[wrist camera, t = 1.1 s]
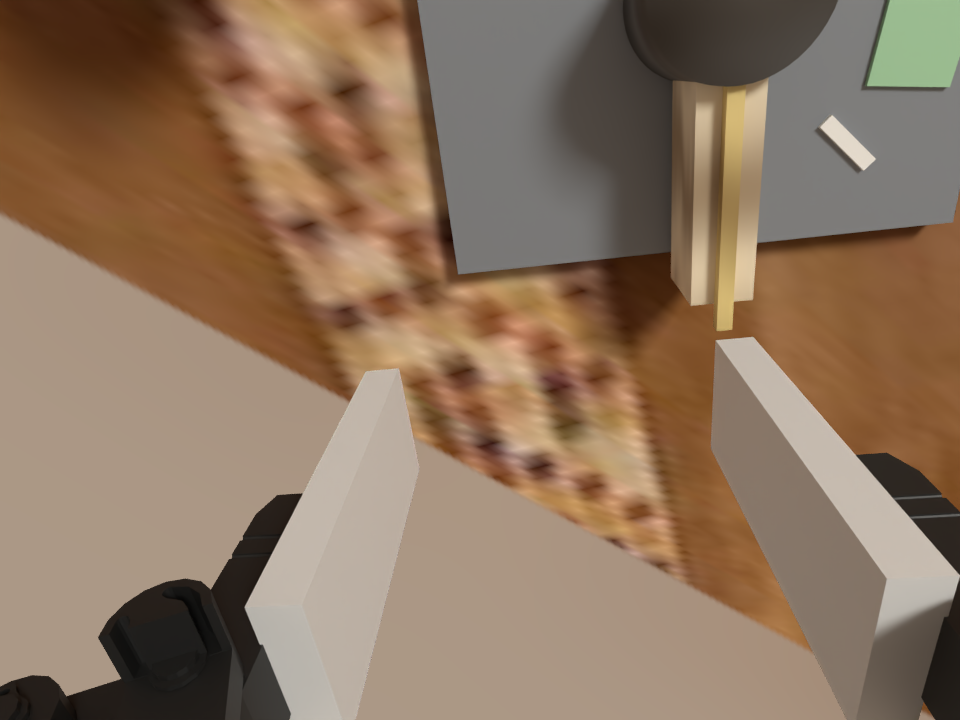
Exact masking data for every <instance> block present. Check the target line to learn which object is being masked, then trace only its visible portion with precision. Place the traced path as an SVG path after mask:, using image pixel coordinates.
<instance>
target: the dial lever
mask: <svg viewBox="0 0 960 720" xmlns="http://www.w3.org/2000/svg"><path fill="white" fill-rule="evenodd" d="M837 2H838V0H623V19H624V25H625V30H626V34H627V37H628V40H629V42H630V44H631V46H632V48H633V50H634V52H635V53H636V55H637V56H638V58H639V59H640V60H641V61H642V63H643V64H644V65H645V66H646V67H647V68H649V69H650V70H651V71H652V72H654V73H655V74H657V75H659V76H661V77H663V78H665V79H668V80H670V81H673V99H672V211H671V279H672V280H673V281H674V283H675V284H676V286H677V287H678V288H679V290H680V291H681V292H682V294H683V295H684V297H685V298H686V299H687V301H688V302H689V304H690V305H691V306H692V305H703V304H713V303H714V314H713V327H714V328H715V330H716V331H723V330H732V322H733V304H734V301H745V300H753V289H754V275H755V261H756V247H757V233H758V219H759V205H760V191H761V177H762V163H763V149H764V135H765V121H766V107H767V93H768V79H769V77H770V76H772V75H774V74H776V73H778V72H779V71H781V70H783V69H784V68H786V67H787V66H789V65H790V64H791V63H793V62H794V61H795V60H796V59H798V58H799V57H800V56H801V55H802V54H803V53H804V52H805V51H806V50H807V49H808V48H809V47H810V46H811V45H812V43H813V42H814V41H815V40H816V39H817V37H818V36H819V35H820V33H821V32H822V30H823V29H824V27H825V26H826V24H827V23H828V21H829V19H830V17H831V15H832V13H833V11H834V10H835V7H836V5H837Z"/></svg>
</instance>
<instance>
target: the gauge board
mask: <svg viewBox="0 0 960 720" xmlns="http://www.w3.org/2000/svg"><path fill="white" fill-rule="evenodd" d="M417 2H418V9H419V15H420V22H421V29H422V35H423V42H424V49H425V56H426V62H427V69H428V76H429V82H430V89H431V96H432V102H433V109H434V116H435V122H436V129H437V136H438V142H439V149H440V156H441V163H442V169H443V176H444V183H445V189H446V196H447V203H448V209H449V216H450V223H451V229H452V236H453V243H454V249H455V256H456V263H457V270H458V274H467V273H476V272H486V271H495V270H505V269H514V268H524V267H533V266H543V265H552V264H562V263H571V262H581V261H590V260H600V259H609V258H619V257H628V256H637V255H647V254H656V253H666V252H671V211H672V99H673V81H670V80H668V79H665V78H663V77H661V76H659V75H657V74H655V73H654V72H652V71H651V70H650V69H649V68H647V67H646V66H645V65H644V64H643V63H642V61H641V60H640V59H639V58H638V56H637V55H636V53H635V52H634V50H633V48H632V46H631V44H630V42H629V40H628V37H627V34H626V30H625V25H624V19H623V0H417ZM959 190H960V0H838V2H837V5H836V7H835V10H834V11H833V13H832V15H831V17H830V19H829V21H828V23H827V24H826V26H825V27H824V29H823V30H822V32H821V33H820V35H819V36H818V37H817V39H816V40H815V41H814V42H813V43H812V45H811V46H810V47H809V48H808V49H807V50H806V51H805V52H804V53H803V54H802V55H801V56H800V57H799V58H798V59H796V60H795V61H794V62H793V63H791V64H790V65H789V66H787V67H786V68H784V69H783V70H781V71H779V72H778V73H776V74H774V75H772V76H770V77H769V79H768V93H767V107H766V121H765V135H764V149H763V163H762V177H761V191H760V205H759V219H758V233H757V243H761V242H770V241H780V240H789V239H799V238H808V237H818V236H827V235H837V234H846V233H856V232H865V231H874V230H884V229H893V228H903V227H912V226H922V225H931V224H941V223H950V222H953V218H954V214H955V209H956V204H957V199H958V195H959Z"/></svg>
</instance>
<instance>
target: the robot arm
mask: <svg viewBox="0 0 960 720" xmlns="http://www.w3.org/2000/svg"><path fill="white" fill-rule="evenodd" d="M711 450H712V452H713V454H714V456H715V458H716V460H717V462H718V464H719V466H720V468H721V470H722V472H723V474H724V476H725V478H726V480H727V482H728V484H729V485H730V487H731V489H732V491H733V493H734V495H735V497H736V499H737V501H738V503H739V505H740V507H741V509H742V511H743V513H744V515H745V517H746V519H747V521H748V523H749V525H750V527H751V529H752V531H753V533H754V535H755V537H756V539H757V541H758V543H759V545H760V547H761V549H762V551H763V553H764V555H765V557H766V559H767V561H768V563H769V565H770V567H771V569H772V571H773V573H774V575H775V577H776V579H777V581H778V583H779V585H780V587H781V589H782V591H783V593H784V595H785V597H786V599H787V601H788V603H789V605H790V607H791V609H792V611H793V613H794V615H795V617H796V619H797V621H798V623H799V625H800V627H801V629H802V631H803V633H804V635H805V637H806V639H807V641H808V643H809V645H810V647H811V649H812V651H813V653H814V655H815V657H816V659H817V661H818V663H819V665H820V667H821V669H822V671H823V673H824V675H825V677H826V679H827V681H828V683H829V685H830V687H831V689H832V691H833V693H834V695H835V697H836V699H837V701H838V703H839V705H840V707H841V709H842V711H843V713H844V715H845V717H846V719H847V720H918V719H919V716H920V712H921V709H922V705H923V702H924V703H925V704H926V706H927V707H928V709H929V711H930V712H931V714H932V715H933V717H934V718H935V720H960V512H959V511H958V510H957V509H956V508H955V507H954V506H953V505H952V504H951V503H950V501H949V500H948V499H947V498H942V495H941V492H940V491H939V490H938V489H937V488H936V487H935V486H934V485H933V484H932V483H931V482H930V481H929V480H928V479H927V478H926V477H925V476H924V475H923V474H922V473H921V472H920V471H918V470H917V469H915V468H913V467H911V466H909V465H908V464H906V463H904V462H902V461H901V460H899V459H897V458H895V457H893V456H892V455H890V454H888V453H878V454H863V455H855V454H854V453H853V452H852V450H851V449H850V448H849V447H848V446H847V445H846V444H845V442H844V441H843V440H842V439H841V438H840V437H839V436H838V434H837V433H836V432H835V431H834V430H833V429H832V427H831V426H830V425H829V424H828V423H827V422H826V421H825V419H824V418H823V417H822V416H821V415H820V414H819V412H818V411H817V410H816V409H815V408H814V407H813V406H812V404H811V403H810V402H809V401H808V400H807V399H806V397H805V396H804V395H803V394H802V393H801V392H800V391H799V389H798V388H797V387H796V386H795V385H794V384H793V382H792V381H791V380H790V379H789V378H788V377H787V376H786V374H785V373H784V372H783V371H782V370H781V369H780V367H779V366H778V365H777V364H776V363H775V362H774V361H773V359H772V358H771V357H770V356H769V355H768V354H767V352H766V351H765V350H764V349H763V348H762V347H761V346H760V344H759V343H758V342H757V341H756V340H755V339H754V337H749V338H737V339H726V340H716V345H715V368H714V390H713V412H712V435H711ZM419 469H420V468H419V463H418V458H417V454H416V449H415V444H414V439H413V434H412V429H411V425H410V420H409V415H408V410H407V405H406V401H405V396H404V391H403V386H402V381H401V376H400V372H399V368H398V369H387V370H376V371H366V372H365V374H364V376H363V378H362V380H361V382H360V384H359V386H358V388H357V390H356V392H355V394H354V396H353V397H352V399H351V401H350V403H349V405H348V407H347V409H346V411H345V413H344V415H343V417H342V419H341V421H340V423H339V425H338V427H337V429H336V431H335V433H334V434H333V436H332V438H331V440H330V442H329V444H328V446H327V448H326V450H325V452H324V454H323V456H322V458H321V460H320V462H319V464H318V465H317V468H316V469H315V471H314V473H313V475H312V477H311V479H310V481H309V483H308V485H307V487H306V489H305V491H304V493H303V494H287V495H277V496H276V497H275V498H274V499H273V500H272V501H270V502H269V503H268V504H267V505H266V506H265V507H264V508H263V509H261V510H260V511H259V512H258V513H257V514H256V515H255V517H254V518H253V520H252V522H251V523H250V525H249V527H248V529H247V530H246V532H245V533H244V535H243V540H242V541H240V542H239V544H238V545H237V547H236V549H235V550H234V552H233V554H232V559H229V560H228V562H227V564H226V566H225V567H224V569H223V570H222V572H221V574H220V575H219V577H218V579H217V580H216V582H215V584H214V585H213V587H212V589H211V590H210V589H209V588H208V587H207V586H206V585H205V584H203V583H202V582H201V581H196V580H190V579H181V580H175V581H168V582H165V583H162V584H160V585H157V586H155V587H153V588H150V589H147V590H145V591H143V592H142V593H140V594H139V595H137V596H136V597H134V598H133V599H131V600H130V601H128V602H127V603H125V604H124V605H123V606H122V607H121V608H120V609H119V610H118V611H117V612H116V613H115V614H114V615H113V616H112V617H111V618H110V619H109V620H108V621H107V623H106V625H105V627H104V628H103V630H102V632H101V633H100V635H99V637H98V638H99V640H100V642H101V644H102V645H103V647H104V649H105V650H106V652H107V654H108V656H109V658H110V659H111V661H112V663H113V665H114V666H115V668H116V670H117V672H118V673H119V675H120V677H121V679H120V680H117V681H114V682H111V683H107V684H104V685H101V686H98V687H95V688H92V689H89V690H86V691H82V692H79V693H76V694H73V695H70V696H66V695H65V694H64V692H63V691H62V689H61V688H60V686H59V684H57V683H56V682H55V681H54V680H52V679H51V678H50V677H49V676H34V675H32V676H28V677H25V678H21V679H18V680H14V681H11V682H9V683H7V684H5V685H3V686H1V687H0V720H289V719H290V720H356V716H357V712H358V708H359V705H360V700H361V696H362V693H363V689H364V685H365V680H366V677H367V673H368V669H369V665H370V661H371V657H372V653H373V649H374V646H375V642H376V637H377V633H378V630H379V626H380V622H381V618H382V614H383V610H384V606H385V602H386V598H387V595H388V591H389V587H390V583H391V579H392V575H393V571H394V567H395V563H396V559H397V555H398V551H399V547H400V544H401V539H402V536H403V531H404V528H405V524H406V520H407V516H408V512H409V508H410V504H411V500H412V496H413V492H414V489H415V484H416V480H417V477H418V473H419Z"/></svg>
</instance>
